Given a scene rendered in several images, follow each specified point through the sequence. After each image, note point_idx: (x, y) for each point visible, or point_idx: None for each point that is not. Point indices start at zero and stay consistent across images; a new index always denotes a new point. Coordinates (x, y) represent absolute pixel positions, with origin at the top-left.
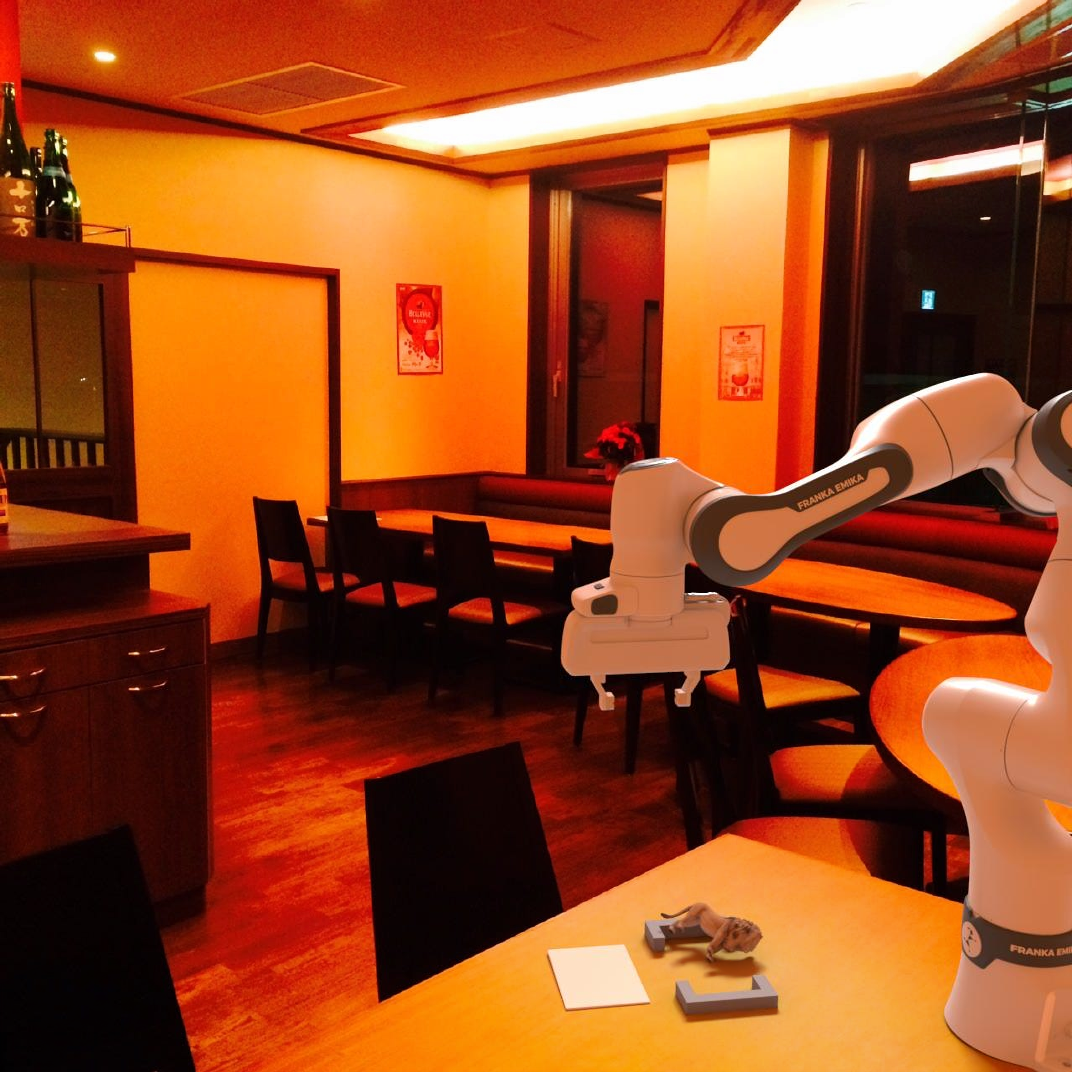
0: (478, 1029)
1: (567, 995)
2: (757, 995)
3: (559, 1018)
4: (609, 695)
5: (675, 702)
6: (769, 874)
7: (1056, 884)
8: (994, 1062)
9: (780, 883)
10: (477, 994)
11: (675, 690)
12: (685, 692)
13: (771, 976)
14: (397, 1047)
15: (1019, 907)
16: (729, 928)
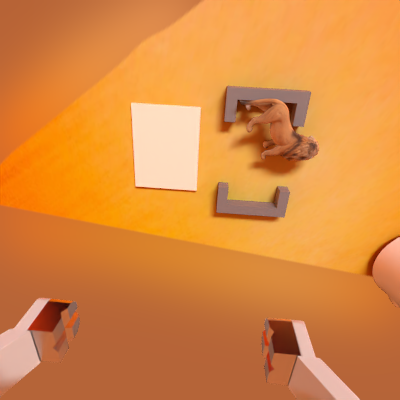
0: (76, 189)
1: (138, 172)
2: (269, 214)
3: (131, 189)
4: (46, 354)
5: (265, 322)
6: None
7: None
8: None
9: None
10: (74, 150)
11: (272, 354)
12: (288, 385)
13: (303, 171)
14: (27, 196)
15: None
16: (287, 154)
